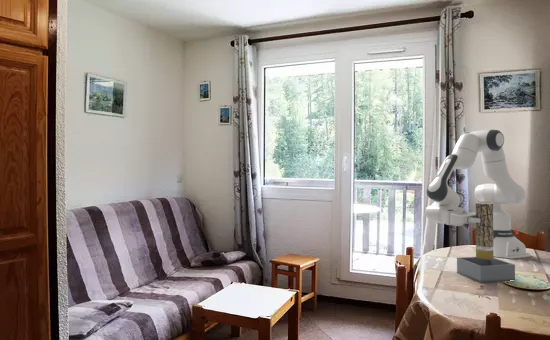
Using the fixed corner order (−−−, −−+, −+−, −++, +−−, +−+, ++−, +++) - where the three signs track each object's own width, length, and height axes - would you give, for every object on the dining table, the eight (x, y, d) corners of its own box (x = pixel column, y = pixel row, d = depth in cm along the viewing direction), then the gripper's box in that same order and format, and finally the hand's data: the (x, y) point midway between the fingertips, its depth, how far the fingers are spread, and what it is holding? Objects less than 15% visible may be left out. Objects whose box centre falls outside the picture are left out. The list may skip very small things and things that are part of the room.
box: (488, 271, 178) (488, 256, 178) (515, 281, 162) (514, 264, 162) (457, 272, 176) (456, 257, 175) (480, 283, 160) (480, 266, 160)
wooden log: (495, 260, 165) (495, 202, 165) (478, 260, 166) (478, 202, 166) (490, 257, 171) (489, 201, 171) (473, 256, 173) (473, 201, 173)
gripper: (470, 221, 185) (499, 225, 173) (443, 225, 175) (472, 229, 163) (470, 208, 185) (499, 211, 173) (443, 211, 175) (472, 214, 163)
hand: (486, 219), depth 168 cm, fingers closed on wooden log, 7 cm apart
